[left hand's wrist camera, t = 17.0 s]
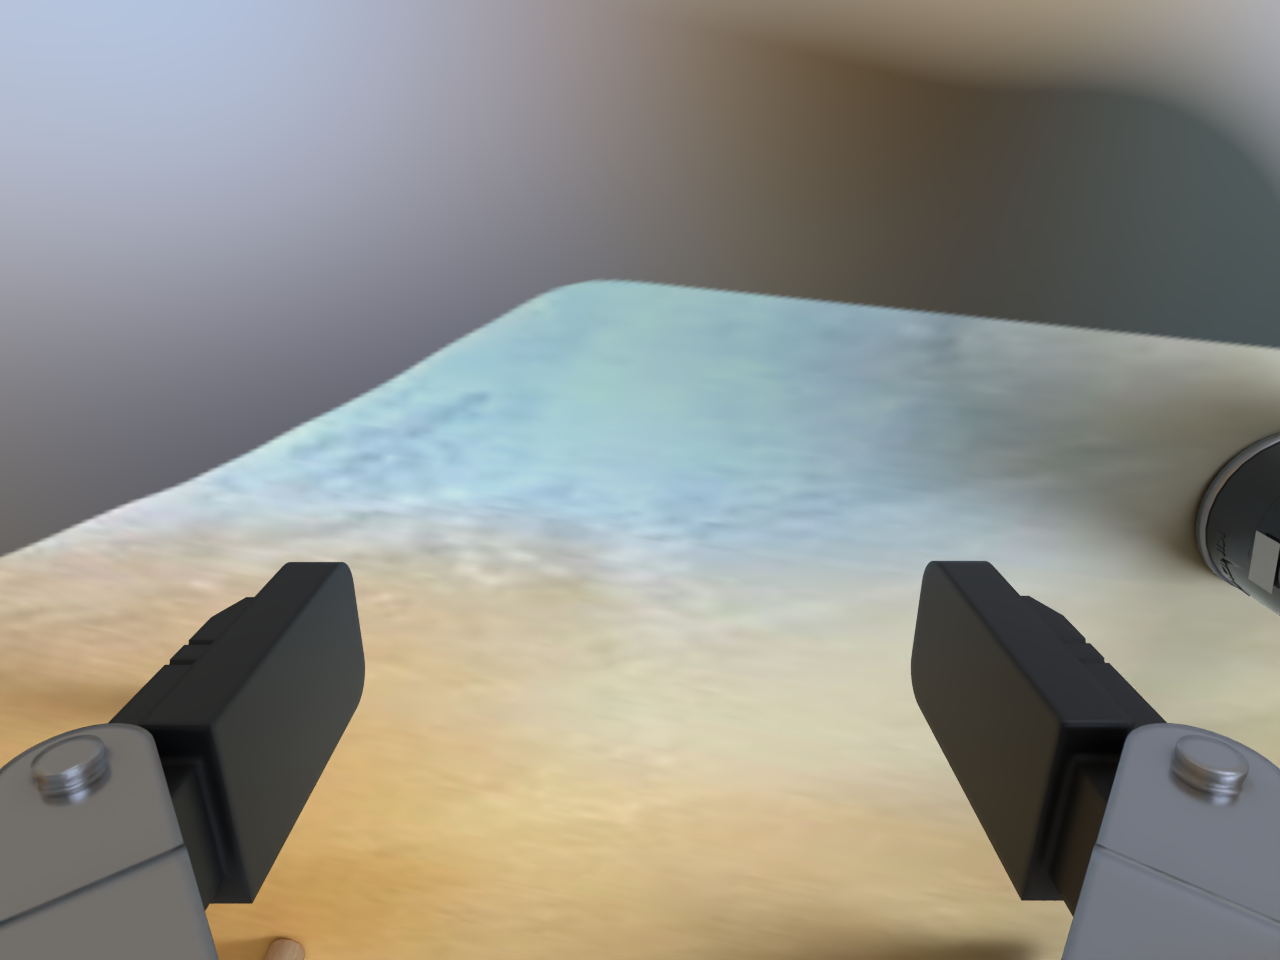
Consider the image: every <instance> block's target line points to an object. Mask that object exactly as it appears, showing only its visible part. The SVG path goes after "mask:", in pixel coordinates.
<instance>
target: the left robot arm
mask: <svg viewBox="0 0 1280 960" xmlns="http://www.w3.org/2000/svg"><path fill="white" fill-rule="evenodd" d="M1196 541H1197V545H1198V549H1199V552H1200V554H1201V556H1202V558H1203V560H1204V562H1205V563H1206V564H1207V566H1208V567H1209V568H1210V569H1211V570H1212V571H1213V572H1214V573H1215V574H1216V575H1218V576H1219V577H1220V578H1222V579H1223V580H1225V581H1226V582H1228V583H1229V584H1231V585H1233V586H1235V587H1237V588H1239V589H1240V590H1241V591H1243V592H1244V593H1246V594H1247V595H1249V596H1252V597H1253V598H1254V599H1256V600H1257V601H1259V602H1260V603H1262V604H1263V605H1265V606H1266V607H1268V608H1269V609H1270V610H1272V611H1273V612H1275V613H1276V614H1277V615H1279V616H1280V433H1276V434H1274V435H1271V436H1269V437H1266V438H1264V439H1262V440H1260V441H1258V442H1256V443H1254V444H1253V445H1251V446H1249V447H1248V448H1246V449H1245V450H1243V451H1242V452H1241V453H1239V454H1238V455H1237V456H1235V457H1234V458H1233V459H1232V460H1231V461H1230V462H1229V463H1228V464H1227V465H1226V466H1225V467H1224V468H1223V469H1222V470H1221V471H1220V472H1219V473H1218V475H1217V476H1216V477H1215V478H1214V480H1213V481H1212V483H1211V484H1210V486H1209V487H1208V489H1207V491H1206V493H1205V495H1204V497H1203V499H1202V501H1201V504H1200V507H1199V510H1198V514H1197V519H1196ZM364 678H365V660H364V652H363V645H362V639H361V632H360V625H359V618H358V611H357V604H356V597H355V590H354V583H353V577H352V574H351V571H350V569H349V567H348V565H347V564H346V563H344V562H289V563H286V564H285V565H284V566H283V567H282V568H281V569H280V570H279V571H278V572H277V573H276V574H275V575H274V577H273V578H272V579H271V580H270V581H269V582H268V583H267V584H266V585H265V586H264V587H263V589H262V590H261V591H260V592H259V593H258V594H257V595H256V596H255V597H246V598H244V599H242V600H241V601H239V602H237V603H235V604H234V605H232V606H230V607H228V608H227V609H225V610H223V611H221V612H220V613H218V614H216V615H214V616H213V617H211V618H210V619H209V620H208V621H207V622H206V623H205V624H204V625H203V626H202V627H201V628H200V629H199V630H198V632H197V633H196V634H195V635H194V636H193V637H192V638H191V639H190V640H189V645H184V646H183V647H182V648H181V649H180V650H179V651H178V652H177V653H176V654H175V655H174V656H173V657H172V658H171V659H170V664H169V665H164V666H163V667H162V668H161V669H160V670H159V671H158V672H157V673H156V675H155V676H154V677H153V678H152V679H151V680H150V681H149V682H148V683H147V684H146V685H145V686H144V687H143V688H142V689H141V690H140V691H139V692H138V693H137V694H136V695H135V696H134V697H133V698H132V699H131V700H130V701H129V702H128V703H127V704H126V705H125V706H124V707H123V708H122V709H121V710H120V711H119V712H118V713H117V714H116V715H115V716H114V718H113V719H112V720H111V721H110V722H109V723H107V724H99V725H93V726H88V727H83V728H79V729H76V730H72V731H69V732H66V733H63V734H60V735H57V736H55V737H52V738H50V739H48V740H46V741H43V742H41V743H39V744H37V745H35V746H33V747H31V748H30V749H28V750H26V751H24V752H23V753H21V754H20V755H18V756H17V757H15V758H14V759H12V760H11V761H10V762H8V763H7V764H6V765H5V766H3V767H2V768H1V769H0V960H219V959H218V956H217V952H216V949H215V945H214V942H213V938H212V935H211V931H210V928H209V924H208V921H207V917H206V914H205V910H206V909H207V907H208V905H209V903H253V901H254V899H255V897H256V895H257V893H258V892H259V890H260V888H261V886H262V884H263V882H264V880H265V879H266V877H267V875H268V873H269V871H270V869H271V867H272V865H273V864H274V862H275V860H276V858H277V856H278V854H279V852H280V850H281V849H282V847H283V845H284V843H285V841H286V839H287V837H288V836H289V834H290V832H291V830H292V828H293V826H294V824H295V822H296V821H297V819H298V817H299V815H300V813H301V811H302V809H303V807H304V806H305V804H306V802H307V800H308V798H309V796H310V794H311V793H312V791H313V789H314V787H315V785H316V783H317V781H318V779H319V778H320V776H321V774H322V772H323V770H324V768H325V766H326V764H327V763H328V761H329V759H330V757H331V755H332V753H333V751H334V750H335V748H336V746H337V744H338V742H339V740H340V738H341V736H342V735H343V733H344V731H345V729H346V727H347V725H348V723H349V722H350V720H351V718H352V716H353V714H354V712H355V710H356V708H357V706H358V704H359V702H360V699H361V695H362V691H363V686H364ZM911 678H912V686H913V691H914V694H915V698H916V701H917V703H918V705H919V707H920V709H921V711H922V713H923V715H924V717H925V719H926V721H927V723H928V724H929V726H930V728H931V730H932V732H933V734H934V736H935V738H936V740H937V741H938V743H939V745H940V747H941V749H942V751H943V753H944V755H945V757H946V758H947V760H948V762H949V764H950V766H951V768H952V770H953V772H954V774H955V775H956V777H957V779H958V781H959V783H960V785H961V787H962V789H963V791H964V793H965V794H966V796H967V798H968V800H969V802H970V804H971V806H972V808H973V810H974V811H975V813H976V815H977V817H978V819H979V821H980V823H981V825H982V827H983V828H984V830H985V832H986V834H987V836H988V838H989V840H990V842H991V844H992V845H993V847H994V849H995V851H996V853H997V855H998V857H999V859H1000V861H1001V863H1002V864H1003V866H1004V868H1005V870H1006V872H1007V874H1008V876H1009V878H1010V880H1011V881H1012V883H1013V885H1014V887H1015V889H1016V891H1017V893H1018V895H1019V897H1020V898H1021V900H1064V902H1065V903H1066V905H1067V907H1068V909H1069V910H1070V912H1071V914H1072V915H1073V921H1072V924H1071V928H1070V931H1069V935H1068V938H1067V942H1066V945H1065V949H1064V952H1063V956H1062V959H1061V960H1280V769H1279V768H1278V767H1277V766H1275V765H1274V764H1273V763H1272V762H1270V761H1269V760H1268V759H1266V758H1265V757H1263V756H1262V755H1260V754H1259V753H1257V752H1256V751H1254V750H1252V749H1250V748H1249V747H1247V746H1245V745H1243V744H1241V743H1239V742H1237V741H1234V740H1232V739H1230V738H1228V737H1225V736H1223V735H1220V734H1217V733H1214V732H1211V731H1208V730H1204V729H1201V728H1197V727H1192V726H1187V725H1181V724H1173V723H1167V722H1166V721H1165V720H1164V719H1163V718H1162V717H1161V716H1160V715H1159V714H1158V713H1157V712H1156V711H1155V710H1154V709H1153V708H1152V707H1151V706H1150V705H1149V704H1148V703H1147V702H1146V701H1145V700H1144V699H1143V698H1142V697H1141V696H1140V695H1139V693H1138V692H1137V691H1136V690H1135V689H1134V688H1133V687H1132V686H1131V685H1130V684H1129V683H1128V682H1127V681H1126V680H1125V679H1124V678H1123V677H1122V676H1121V675H1120V674H1119V673H1118V672H1117V671H1116V670H1115V669H1114V668H1113V667H1112V666H1111V665H1110V664H1109V663H1105V662H1104V657H1103V656H1102V655H1101V654H1100V653H1099V652H1098V651H1097V650H1096V649H1095V648H1094V647H1093V646H1092V645H1091V644H1090V643H1086V642H1085V638H1084V637H1083V636H1082V635H1081V634H1080V633H1079V631H1078V630H1077V629H1076V628H1075V627H1074V626H1073V625H1072V624H1071V623H1070V622H1069V621H1068V620H1067V619H1066V618H1065V617H1064V616H1063V615H1061V614H1059V613H1058V612H1056V611H1054V610H1052V609H1051V608H1049V607H1047V606H1045V605H1044V604H1042V603H1040V602H1038V601H1037V600H1035V599H1033V598H1031V597H1030V596H1020V595H1019V594H1018V593H1017V592H1016V591H1015V590H1014V588H1013V587H1012V586H1011V585H1010V584H1009V583H1008V582H1007V581H1006V580H1005V579H1004V577H1003V576H1002V575H1001V574H1000V573H999V572H998V571H997V570H996V569H995V568H994V566H993V565H992V564H990V563H989V562H987V561H931V562H930V563H929V564H928V565H927V567H926V569H925V571H924V575H923V580H922V586H921V593H920V600H919V607H918V615H917V622H916V629H915V636H914V643H913V650H912V657H911Z"/></svg>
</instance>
